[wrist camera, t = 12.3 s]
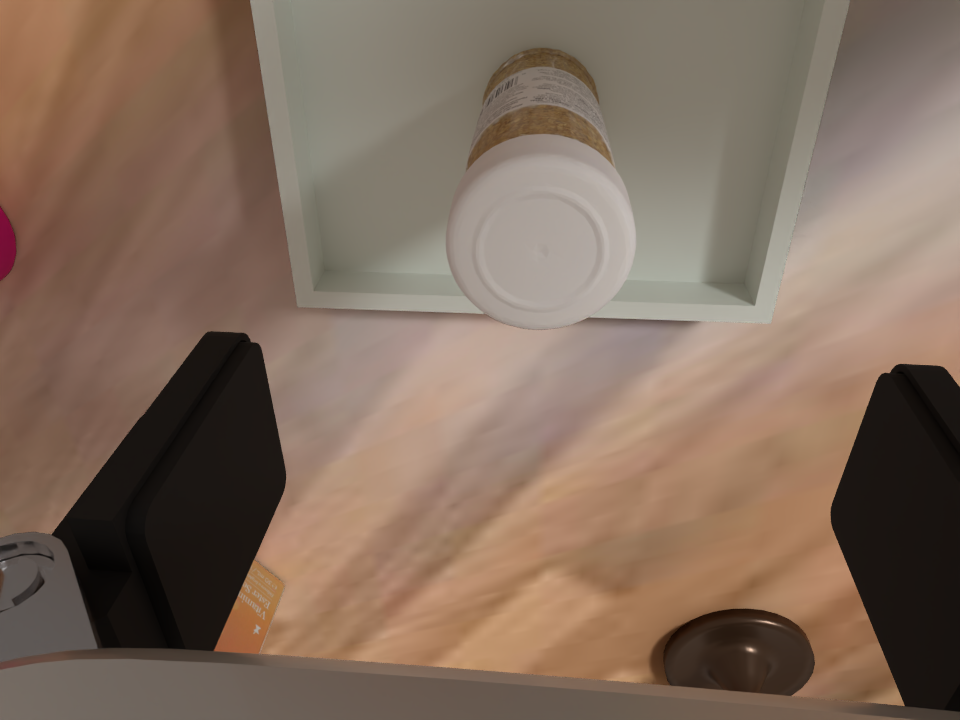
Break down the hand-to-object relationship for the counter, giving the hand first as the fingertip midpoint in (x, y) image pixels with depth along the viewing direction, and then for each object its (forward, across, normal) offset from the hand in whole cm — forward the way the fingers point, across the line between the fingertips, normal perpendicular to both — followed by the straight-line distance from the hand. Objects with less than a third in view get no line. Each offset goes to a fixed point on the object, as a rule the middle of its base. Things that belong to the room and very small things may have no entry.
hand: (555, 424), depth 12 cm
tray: (+21, +1, +1) cm, 21 cm away
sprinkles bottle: (+20, +1, +1) cm, 20 cm away
